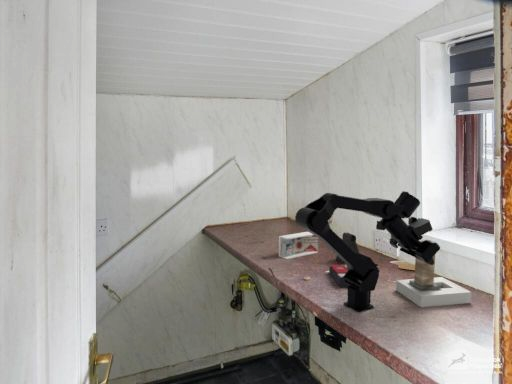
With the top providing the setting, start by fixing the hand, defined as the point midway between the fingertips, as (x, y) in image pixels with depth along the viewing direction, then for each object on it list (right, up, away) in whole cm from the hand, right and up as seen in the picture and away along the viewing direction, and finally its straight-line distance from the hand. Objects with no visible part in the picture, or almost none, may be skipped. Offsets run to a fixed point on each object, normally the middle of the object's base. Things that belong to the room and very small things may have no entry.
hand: (428, 262), depth 113 cm
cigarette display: (-35, -7, +50) cm, 61 cm away
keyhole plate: (+2, -11, +2) cm, 12 cm away
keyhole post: (-1, -8, +1) cm, 8 cm away
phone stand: (-15, -8, +39) cm, 43 cm away
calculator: (-21, -10, +17) cm, 29 cm away
